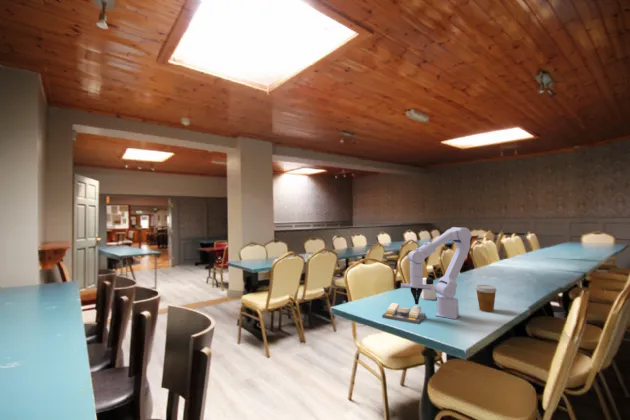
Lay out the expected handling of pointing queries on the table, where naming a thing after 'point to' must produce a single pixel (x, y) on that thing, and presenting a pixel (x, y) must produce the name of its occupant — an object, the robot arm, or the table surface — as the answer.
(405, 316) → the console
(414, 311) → the block
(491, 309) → the disposable coffee cup
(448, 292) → the robot arm
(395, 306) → the rocker
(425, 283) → the medicine bottle
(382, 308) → the table surface
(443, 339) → the table surface
